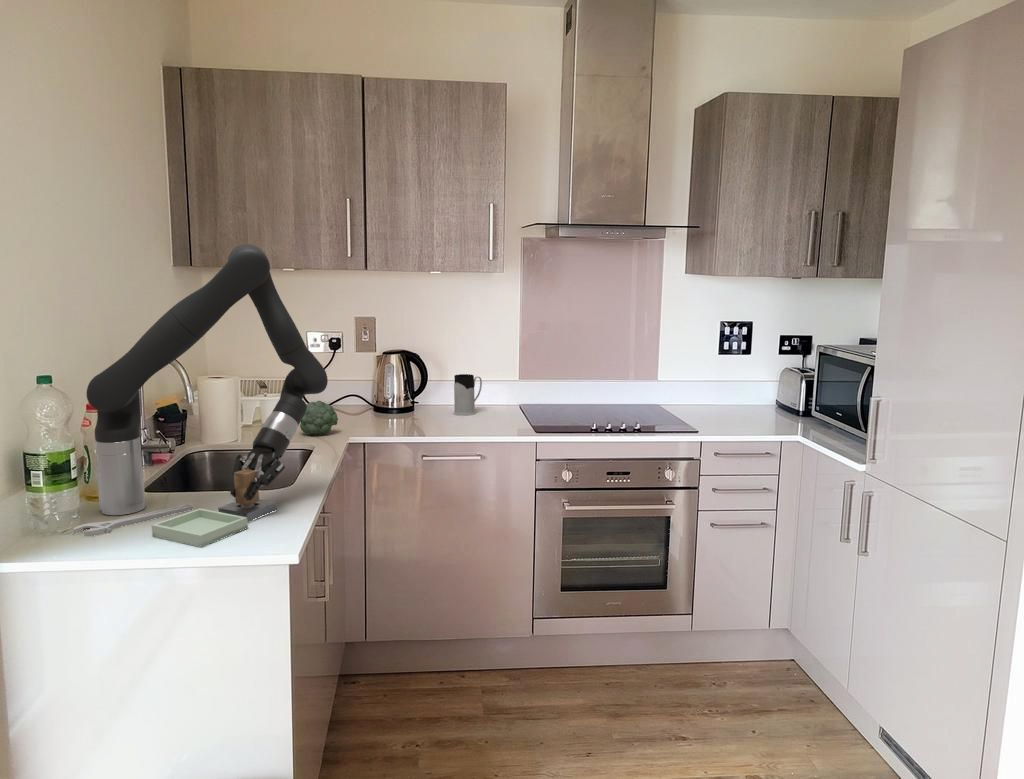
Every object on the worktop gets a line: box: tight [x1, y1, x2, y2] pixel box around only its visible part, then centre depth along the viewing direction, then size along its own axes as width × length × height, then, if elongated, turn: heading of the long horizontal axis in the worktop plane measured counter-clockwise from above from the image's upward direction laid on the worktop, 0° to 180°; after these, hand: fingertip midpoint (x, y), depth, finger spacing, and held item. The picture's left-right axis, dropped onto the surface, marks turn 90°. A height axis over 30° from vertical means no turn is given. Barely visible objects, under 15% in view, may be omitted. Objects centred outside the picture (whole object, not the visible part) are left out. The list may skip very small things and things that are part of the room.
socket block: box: [217, 498, 278, 523], centre depth 174 cm, size 9×9×2 cm
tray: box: [151, 507, 249, 548], centre depth 162 cm, size 15×13×2 cm
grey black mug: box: [453, 373, 483, 417], centre depth 295 cm, size 9×14×15 cm, turn 140°
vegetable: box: [299, 400, 339, 436], centre depth 260 cm, size 12×13×15 cm
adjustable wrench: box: [73, 503, 194, 537], centre depth 169 cm, size 25×6×2 cm, turn 132°
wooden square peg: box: [233, 468, 260, 509], centre depth 174 cm, size 4×4×10 cm
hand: (240, 497), depth 172 cm, fingers closed on wooden square peg, 3 cm apart
